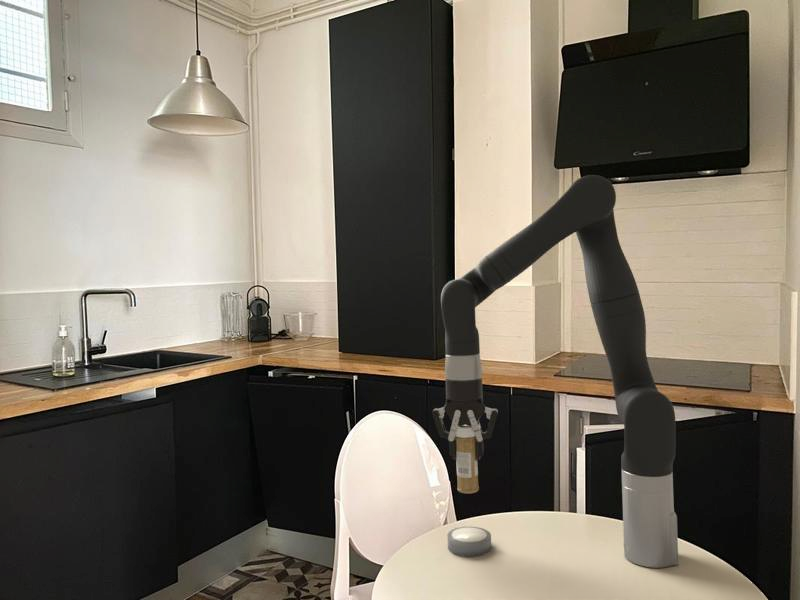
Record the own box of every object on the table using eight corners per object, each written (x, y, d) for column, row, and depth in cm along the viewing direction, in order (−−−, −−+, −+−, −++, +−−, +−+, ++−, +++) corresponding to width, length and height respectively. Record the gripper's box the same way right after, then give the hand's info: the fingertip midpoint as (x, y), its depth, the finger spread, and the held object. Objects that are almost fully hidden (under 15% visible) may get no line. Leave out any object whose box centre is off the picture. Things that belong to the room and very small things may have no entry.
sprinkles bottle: (483, 490, 126) (481, 425, 126) (468, 495, 123) (465, 429, 123) (467, 485, 130) (465, 422, 130) (452, 490, 127) (449, 426, 127)
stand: (492, 539, 130) (492, 526, 130) (490, 557, 122) (489, 544, 122) (450, 537, 132) (450, 525, 132) (445, 555, 123) (444, 542, 123)
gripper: (426, 379, 124) (429, 463, 124) (497, 378, 121) (500, 464, 121) (432, 373, 131) (435, 452, 132) (499, 372, 128) (502, 453, 129)
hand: (466, 457), depth 126 cm, fingers closed on sprinkles bottle, 4 cm apart
